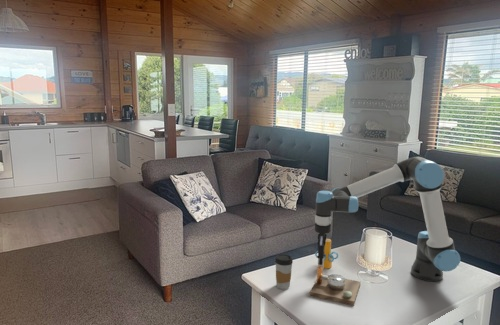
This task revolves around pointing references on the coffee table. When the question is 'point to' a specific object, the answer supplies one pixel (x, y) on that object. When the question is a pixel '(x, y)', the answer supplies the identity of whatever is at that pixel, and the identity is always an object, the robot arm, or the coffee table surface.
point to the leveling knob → (331, 279)
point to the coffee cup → (283, 271)
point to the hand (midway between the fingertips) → (320, 269)
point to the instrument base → (336, 291)
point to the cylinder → (328, 254)
